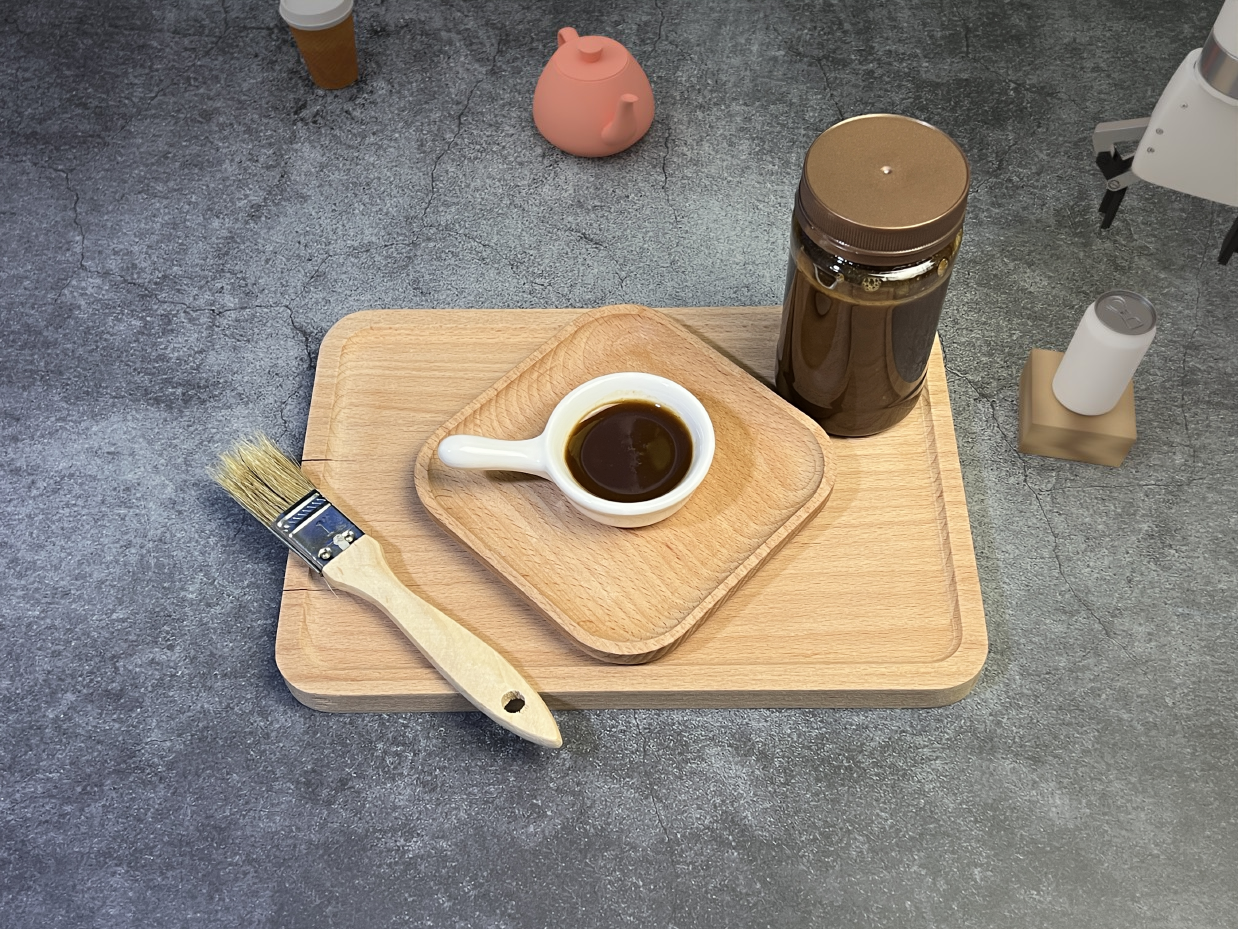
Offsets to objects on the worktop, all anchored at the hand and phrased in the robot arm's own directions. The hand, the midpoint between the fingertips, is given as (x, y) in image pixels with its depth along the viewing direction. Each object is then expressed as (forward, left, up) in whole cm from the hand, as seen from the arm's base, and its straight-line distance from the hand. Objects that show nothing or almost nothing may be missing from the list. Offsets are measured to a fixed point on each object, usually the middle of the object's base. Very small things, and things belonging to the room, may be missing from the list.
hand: (1165, 236), depth 93 cm
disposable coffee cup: (+104, -15, -26) cm, 108 cm away
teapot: (+66, -20, -26) cm, 74 cm away
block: (0, 0, -26) cm, 26 cm away
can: (0, 0, -22) cm, 22 cm away
